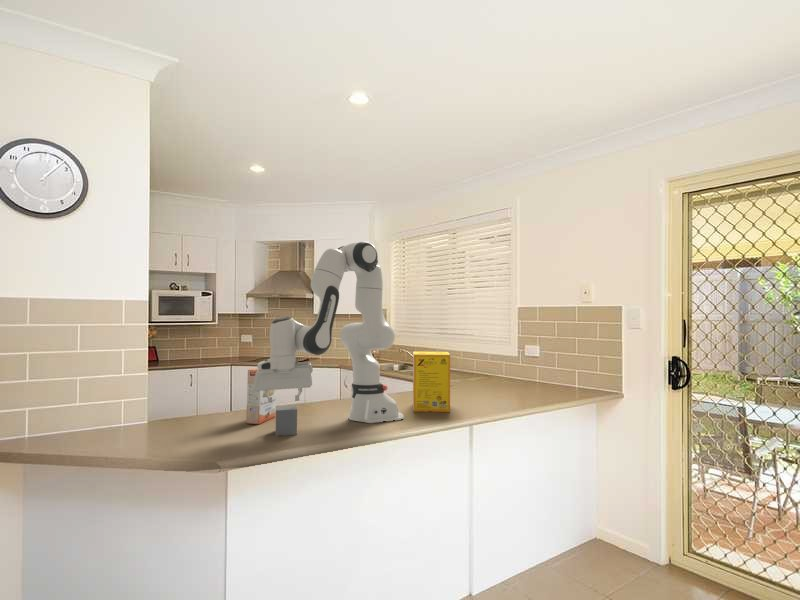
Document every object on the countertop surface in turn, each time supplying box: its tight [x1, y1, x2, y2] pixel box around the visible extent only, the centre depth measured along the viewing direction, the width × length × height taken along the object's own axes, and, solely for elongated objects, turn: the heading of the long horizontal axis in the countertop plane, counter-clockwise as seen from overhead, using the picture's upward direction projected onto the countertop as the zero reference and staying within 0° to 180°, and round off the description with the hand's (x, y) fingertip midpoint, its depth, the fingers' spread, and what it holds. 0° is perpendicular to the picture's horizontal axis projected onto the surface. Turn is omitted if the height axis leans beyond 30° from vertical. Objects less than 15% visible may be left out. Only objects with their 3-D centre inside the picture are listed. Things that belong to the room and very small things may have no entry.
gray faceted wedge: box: [275, 405, 298, 437], centre depth 168 cm, size 7×7×9 cm
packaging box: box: [412, 351, 451, 413], centre depth 214 cm, size 16×16×25 cm
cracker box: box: [245, 367, 277, 425], centre depth 187 cm, size 14×6×21 cm, turn 168°
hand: (283, 401), depth 168 cm, fingers open, 8 cm apart
